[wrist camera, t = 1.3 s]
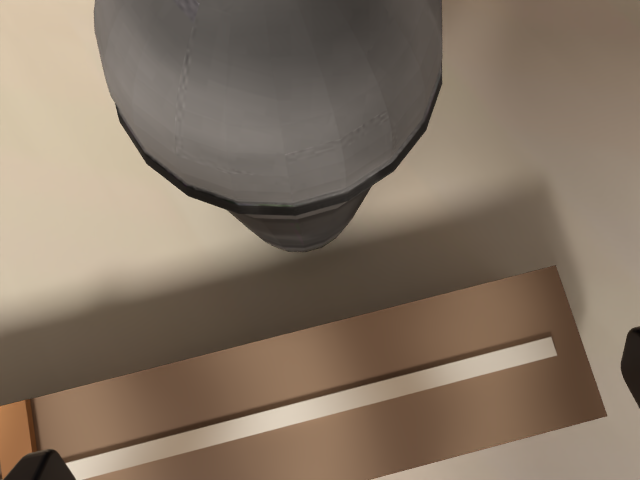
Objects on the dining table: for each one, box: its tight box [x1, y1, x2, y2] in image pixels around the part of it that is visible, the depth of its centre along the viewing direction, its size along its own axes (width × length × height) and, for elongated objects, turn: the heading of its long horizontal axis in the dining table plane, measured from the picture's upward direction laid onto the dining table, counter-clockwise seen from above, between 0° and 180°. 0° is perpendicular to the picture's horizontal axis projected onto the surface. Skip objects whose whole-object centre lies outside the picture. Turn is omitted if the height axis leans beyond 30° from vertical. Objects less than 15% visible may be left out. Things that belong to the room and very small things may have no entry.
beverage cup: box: [94, 0, 442, 252], centre depth 13 cm, size 7×7×20 cm
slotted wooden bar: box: [0, 265, 607, 480], centre depth 19 cm, size 26×5×4 cm, turn 104°
